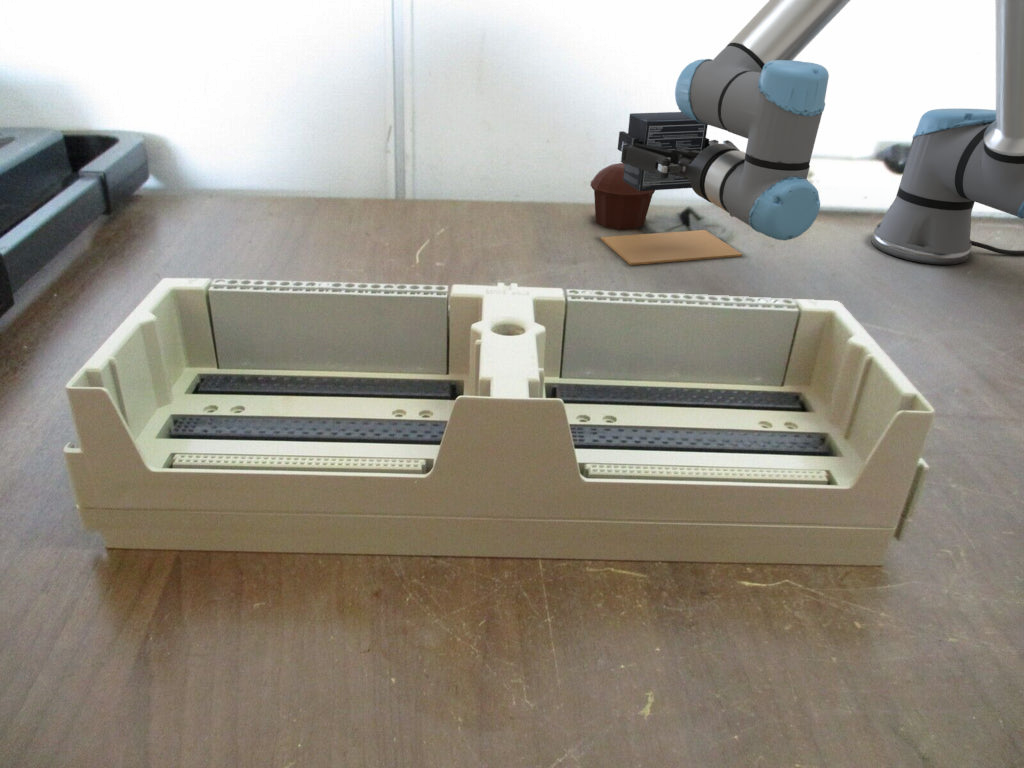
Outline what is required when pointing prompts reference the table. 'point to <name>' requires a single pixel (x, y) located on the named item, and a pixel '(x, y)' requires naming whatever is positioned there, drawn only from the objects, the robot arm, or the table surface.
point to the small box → (663, 145)
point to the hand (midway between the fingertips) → (653, 139)
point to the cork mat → (669, 247)
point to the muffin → (619, 200)
